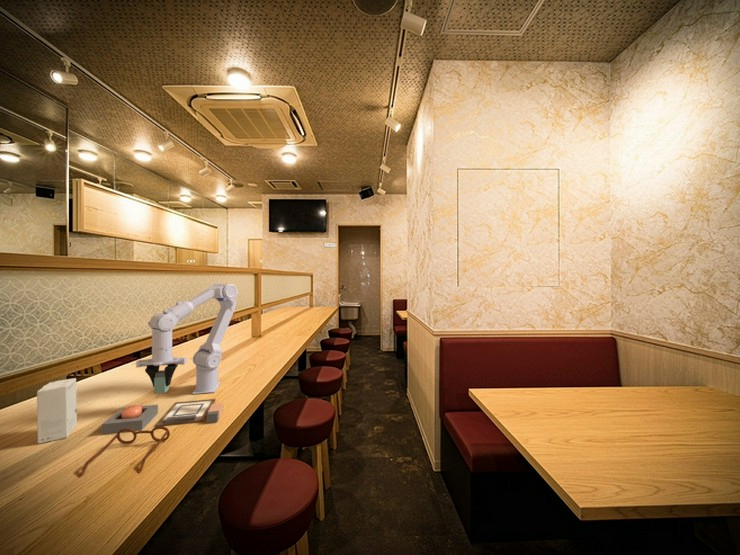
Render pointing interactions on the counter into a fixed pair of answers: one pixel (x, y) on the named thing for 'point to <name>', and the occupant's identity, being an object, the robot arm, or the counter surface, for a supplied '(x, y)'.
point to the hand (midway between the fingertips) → (161, 385)
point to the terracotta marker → (214, 412)
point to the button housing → (129, 420)
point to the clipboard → (186, 412)
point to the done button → (132, 412)
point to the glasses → (131, 442)
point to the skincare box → (56, 410)
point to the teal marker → (160, 382)
